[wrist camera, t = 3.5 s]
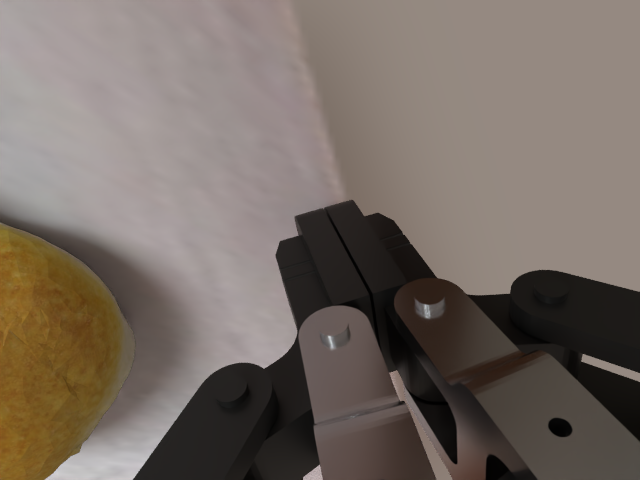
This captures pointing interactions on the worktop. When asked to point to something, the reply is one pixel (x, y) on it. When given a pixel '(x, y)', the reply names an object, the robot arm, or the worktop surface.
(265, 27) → the worktop surface
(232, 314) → the worktop surface
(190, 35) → the worktop surface
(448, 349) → the robot arm
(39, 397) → the bread roll
